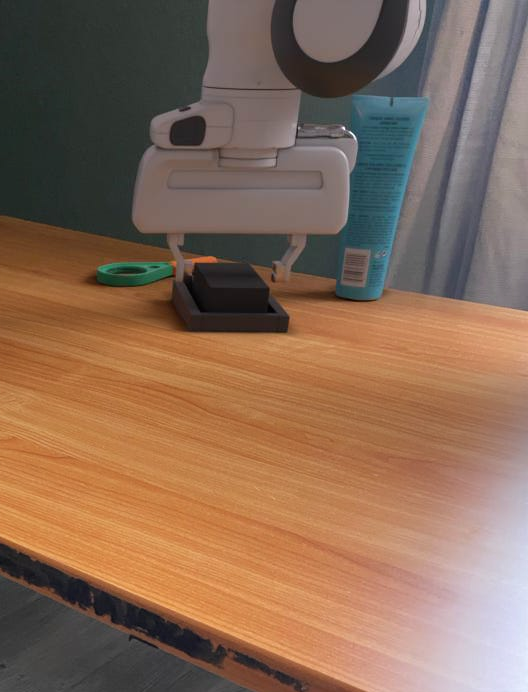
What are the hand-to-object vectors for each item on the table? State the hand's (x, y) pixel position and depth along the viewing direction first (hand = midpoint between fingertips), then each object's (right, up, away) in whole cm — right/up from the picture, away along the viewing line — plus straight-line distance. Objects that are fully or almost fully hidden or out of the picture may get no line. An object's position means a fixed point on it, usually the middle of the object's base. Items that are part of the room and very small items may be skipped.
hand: (231, 281), depth 98 cm
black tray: (0, -3, +2) cm, 4 cm away
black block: (0, -2, +2) cm, 3 cm away
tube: (+16, +2, +11) cm, 19 cm away
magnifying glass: (-5, +7, +17) cm, 19 cm away
